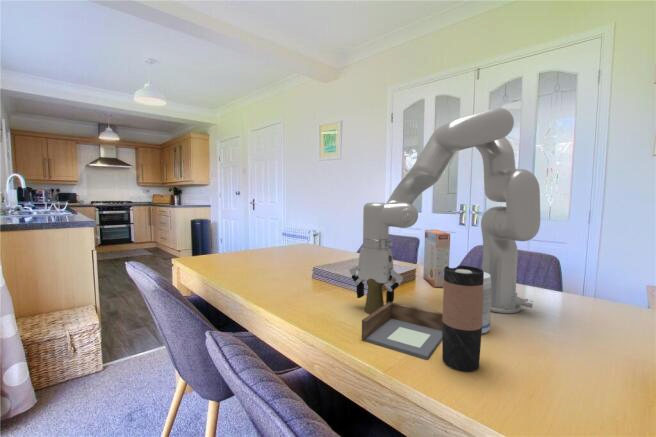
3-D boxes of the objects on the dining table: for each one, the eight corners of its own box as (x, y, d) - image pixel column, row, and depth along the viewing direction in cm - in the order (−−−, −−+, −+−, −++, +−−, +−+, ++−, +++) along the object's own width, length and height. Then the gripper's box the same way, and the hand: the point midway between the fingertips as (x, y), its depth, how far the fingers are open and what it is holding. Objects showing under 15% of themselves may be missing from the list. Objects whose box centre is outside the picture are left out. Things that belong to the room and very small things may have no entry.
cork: (384, 315, 92) (385, 278, 91) (363, 314, 93) (364, 277, 92) (385, 308, 98) (385, 273, 97) (365, 307, 99) (365, 272, 98)
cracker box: (449, 288, 119) (451, 233, 118) (433, 287, 119) (435, 233, 118) (437, 278, 133) (438, 229, 132) (422, 278, 133) (424, 229, 132)
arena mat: (447, 333, 80) (447, 329, 80) (427, 360, 67) (427, 355, 67) (388, 318, 90) (389, 315, 89) (361, 340, 76) (361, 336, 76)
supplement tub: (479, 320, 89) (481, 269, 87) (497, 335, 79) (500, 278, 78) (444, 320, 88) (446, 269, 87) (458, 335, 79) (460, 278, 78)
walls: (447, 333, 80) (447, 314, 80) (427, 360, 67) (428, 337, 67) (388, 318, 90) (389, 301, 89) (361, 340, 76) (361, 320, 76)
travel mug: (477, 377, 61) (482, 275, 60) (437, 365, 65) (440, 270, 64) (482, 359, 68) (486, 267, 66) (445, 350, 72) (448, 263, 70)
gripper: (408, 245, 92) (406, 302, 93) (356, 240, 102) (355, 291, 103) (398, 248, 86) (396, 309, 87) (344, 243, 96) (343, 297, 97)
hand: (374, 300), depth 95 cm, fingers open, 9 cm apart
